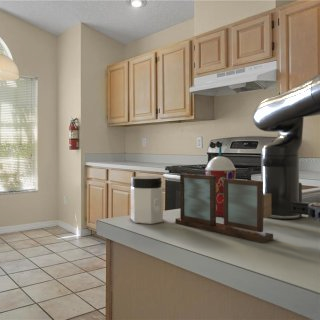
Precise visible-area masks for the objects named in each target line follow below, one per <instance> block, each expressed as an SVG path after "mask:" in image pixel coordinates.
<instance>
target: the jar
mask: <svg viewBox="0 0 320 320" xmlns="http://www.w3.org/2000/svg"><path fill="white" fill-rule="evenodd" d="M130 179H131V186H130V219H131V220H132V221H133V222H134V224H135V223H136V224H144V225H145V224H146V225H153V224H159V223H163V222H164V188H163V186H162V182H163V181H162V177H161V176H154V175H153V176H151V175H143V176H142V175H139V176H132V177H131V178H130Z"/></svg>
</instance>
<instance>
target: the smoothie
mask: <svg viewBox="0 0 320 320" xmlns="http://www.w3.org/2000/svg"><path fill="white" fill-rule="evenodd" d="M222 155H223V154H222V146H218V155H217V156H215V157H213V158H211V159H210V160H209V161H208V163H207V165H206V167H205V168H204V169H205V175H213V176H216V217H224V179H236V172H237V171H236V170H237V168H236V167H235V165H234V163H233V162H232V160H231V159H230V158H229V157H225V156H222Z"/></svg>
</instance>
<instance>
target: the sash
mask: <svg viewBox="0 0 320 320" xmlns="http://www.w3.org/2000/svg"><path fill="white" fill-rule="evenodd" d="M270 216H271V194H267V193H265V194H263V181H261V180H250V179H236V178H235V179H224V216H223V224H224V225H228V226H232V227H237V228H242V229H247V230H252V231H257V232H264V219H267V218H270Z"/></svg>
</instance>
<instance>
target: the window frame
mask: <svg viewBox="0 0 320 320" xmlns="http://www.w3.org/2000/svg"><path fill="white" fill-rule="evenodd" d="M179 185H180V186H179V197H180V198H179V199H180V200H179V201H180V202H179V203H180V204H179V205H180V206H179V207H180V208H179V209H180V211H179V212H180V214H179V215H180V216H179V217H177V218H175V224H178V225H182V226H187V227H191V228H196V229H199V230H203V231H208V232H213V233H217V234H222V235H226V236H231V237H235V238H240V239H245V240H248V241H253V242H256V243H261V244H264V243H266V242H269V241H272V240H274V234H273V233H271V232H266V231H263V232H257V231H252V230H247V229H242V228H237V227H232V226H228V225H224V223H220V222H217V216H216V176H213V175H206V174H196V173H195V174H194V173H179Z"/></svg>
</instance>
